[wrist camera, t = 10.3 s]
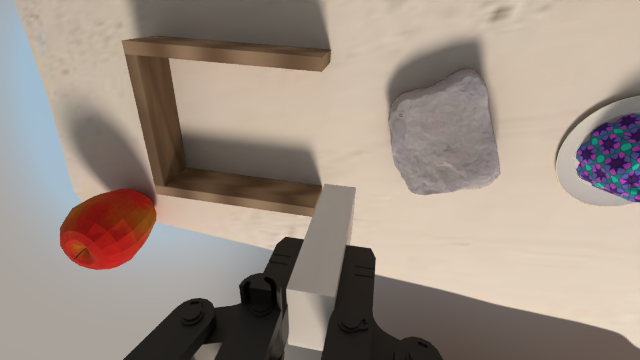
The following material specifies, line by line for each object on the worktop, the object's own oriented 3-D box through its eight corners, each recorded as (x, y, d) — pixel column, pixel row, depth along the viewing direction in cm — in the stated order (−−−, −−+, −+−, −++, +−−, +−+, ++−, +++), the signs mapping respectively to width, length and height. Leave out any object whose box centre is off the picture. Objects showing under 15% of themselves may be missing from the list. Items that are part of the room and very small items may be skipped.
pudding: (531, 189, 36) (552, 215, 31) (593, 80, 30) (631, 94, 25) (643, 214, 35) (682, 245, 31) (731, 107, 29) (795, 126, 25)
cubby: (330, 50, 32) (322, 57, 28) (321, 194, 41) (314, 217, 36) (154, 35, 35) (121, 40, 30) (179, 174, 43) (156, 194, 39)
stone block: (410, 183, 40) (502, 169, 35) (404, 204, 36) (506, 191, 31) (382, 91, 36) (481, 60, 31) (371, 104, 32) (483, 71, 27)
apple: (144, 165, 43) (69, 216, 33) (184, 217, 47) (126, 279, 36) (99, 186, 47) (18, 239, 36) (139, 234, 50) (75, 295, 39)
